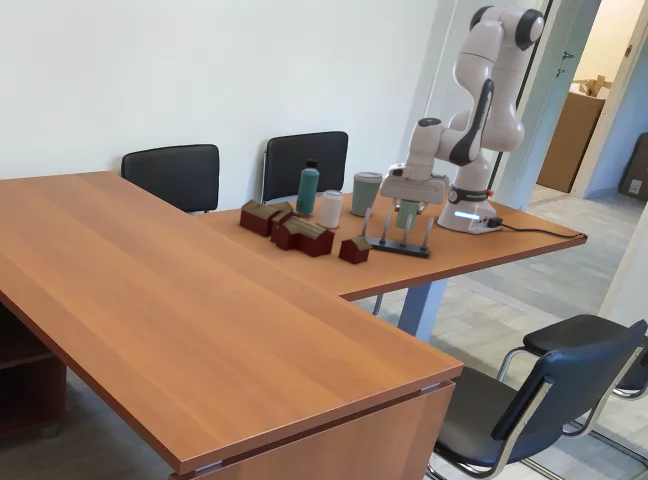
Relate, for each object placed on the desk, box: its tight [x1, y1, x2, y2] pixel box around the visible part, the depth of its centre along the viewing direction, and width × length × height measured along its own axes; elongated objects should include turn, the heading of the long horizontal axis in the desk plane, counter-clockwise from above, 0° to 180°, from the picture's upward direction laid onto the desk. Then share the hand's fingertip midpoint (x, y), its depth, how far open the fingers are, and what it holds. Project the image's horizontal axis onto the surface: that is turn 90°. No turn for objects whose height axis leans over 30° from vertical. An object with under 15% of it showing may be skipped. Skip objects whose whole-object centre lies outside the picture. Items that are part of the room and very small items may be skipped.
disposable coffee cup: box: [351, 171, 384, 217], centre depth 260 cm, size 11×11×15 cm
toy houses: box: [239, 199, 373, 265], centre depth 230 cm, size 45×20×10 cm, turn 35°
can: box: [318, 189, 344, 230], centre depth 246 cm, size 6×6×12 cm
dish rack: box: [356, 208, 434, 259], centre depth 230 cm, size 23×8×12 cm, turn 69°
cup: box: [394, 199, 421, 230], centre depth 235 cm, size 6×6×9 cm
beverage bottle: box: [295, 158, 320, 215], centre depth 252 cm, size 6×7×20 cm
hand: (407, 213), depth 235 cm, fingers closed on cup, 6 cm apart
